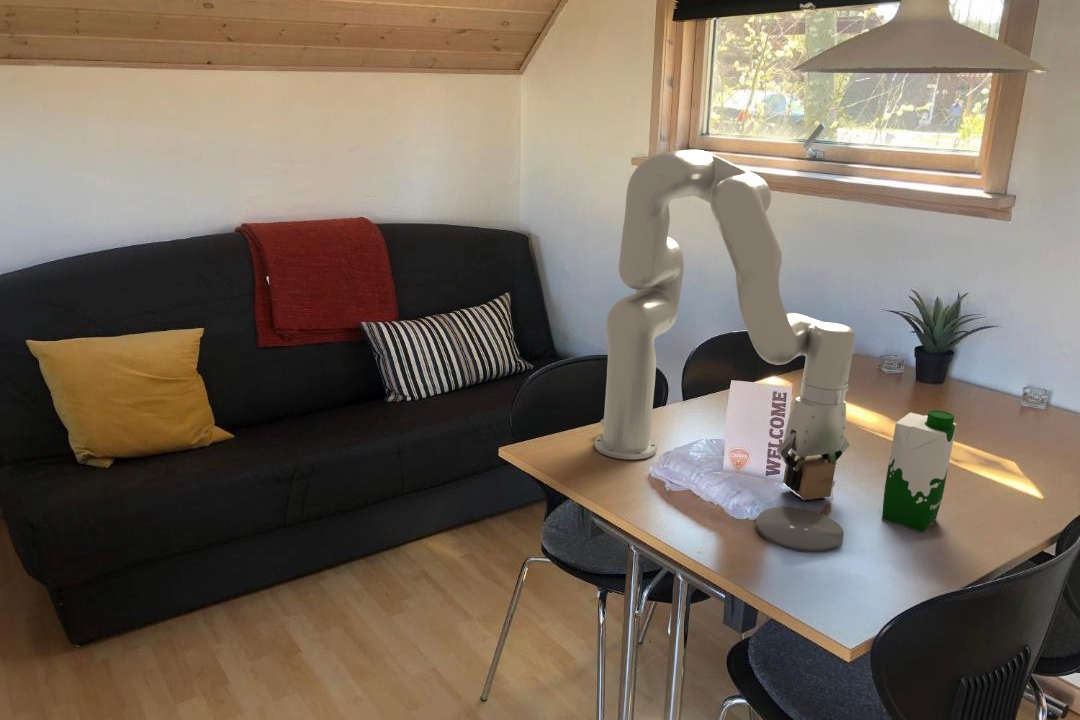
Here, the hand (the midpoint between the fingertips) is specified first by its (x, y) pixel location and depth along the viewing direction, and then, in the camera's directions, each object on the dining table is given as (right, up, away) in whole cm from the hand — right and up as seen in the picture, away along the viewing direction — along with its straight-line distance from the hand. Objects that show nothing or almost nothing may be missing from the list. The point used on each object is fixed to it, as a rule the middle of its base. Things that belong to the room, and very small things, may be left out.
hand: (807, 485), depth 163 cm
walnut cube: (0, -1, 0) cm, 1 cm away
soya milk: (+16, -5, -7) cm, 18 cm away
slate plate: (-5, -6, -14) cm, 16 cm away
